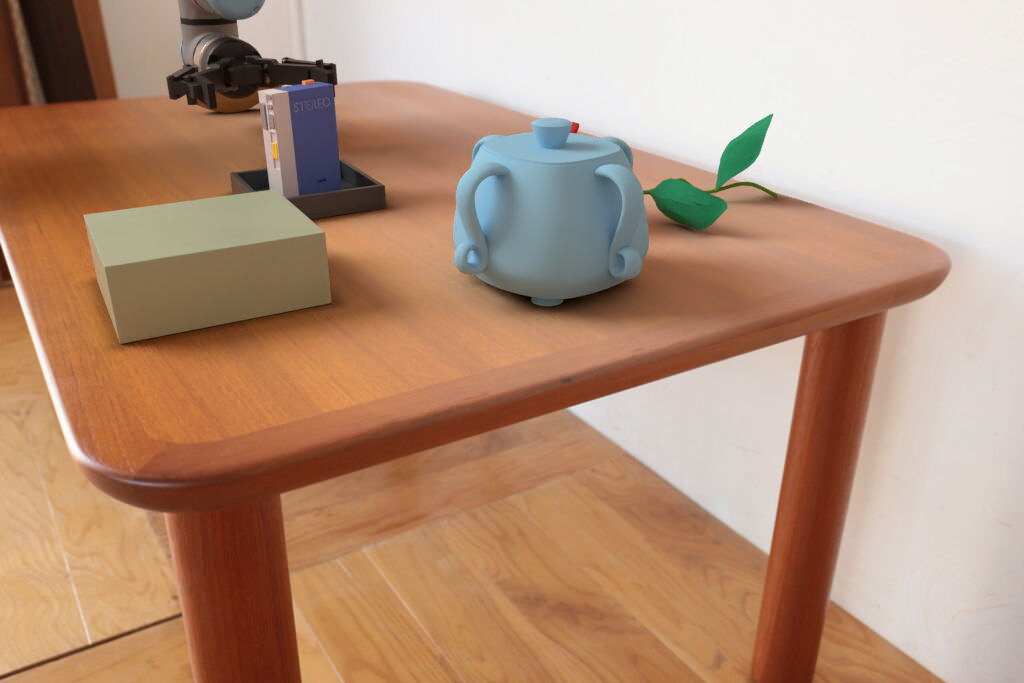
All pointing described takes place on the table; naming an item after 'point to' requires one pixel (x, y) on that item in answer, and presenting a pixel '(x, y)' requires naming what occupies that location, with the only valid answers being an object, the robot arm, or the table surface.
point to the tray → (353, 197)
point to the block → (206, 263)
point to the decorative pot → (550, 213)
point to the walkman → (301, 138)
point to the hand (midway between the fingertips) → (273, 90)
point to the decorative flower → (701, 206)
